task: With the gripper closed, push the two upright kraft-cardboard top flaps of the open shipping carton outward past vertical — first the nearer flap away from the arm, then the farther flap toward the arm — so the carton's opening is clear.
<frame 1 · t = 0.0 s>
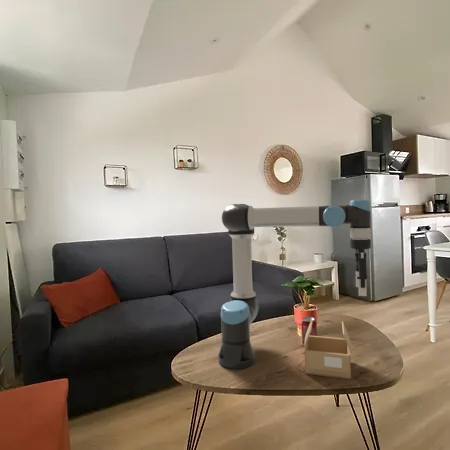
hand: (360, 291, 128), 28 cm above the table, fingers open, 13 cm apart
carton: (327, 367, 123), on the table
flap 1: (308, 333, 125), point 13 cm above the table, hinge at 70.0°
soda can: (309, 345, 144), on the table
flap 2: (346, 336, 120), point 13 cm above the table, hinge at 70.0°
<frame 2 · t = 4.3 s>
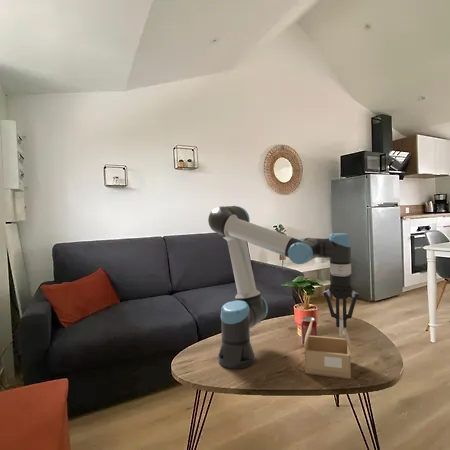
hand: (341, 335, 121), 13 cm above the table, fingers closed
flap 2: (346, 336, 120), point 13 cm above the table, hinge at 70.8°, touching gripper
everything else where it was.
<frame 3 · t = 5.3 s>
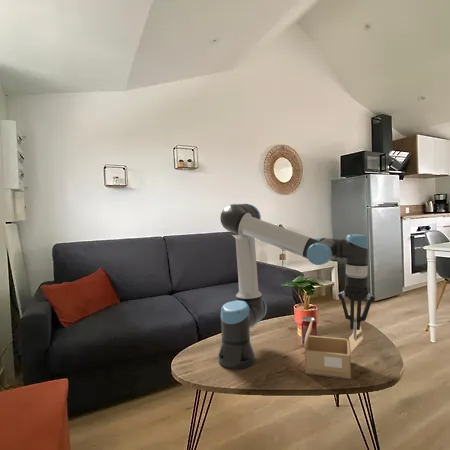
hand: (354, 337, 119), 13 cm above the table, fingers closed
flap 2: (356, 338, 119), point 12 cm above the table, hinge at 126.1°, touching gripper
everything else where it was.
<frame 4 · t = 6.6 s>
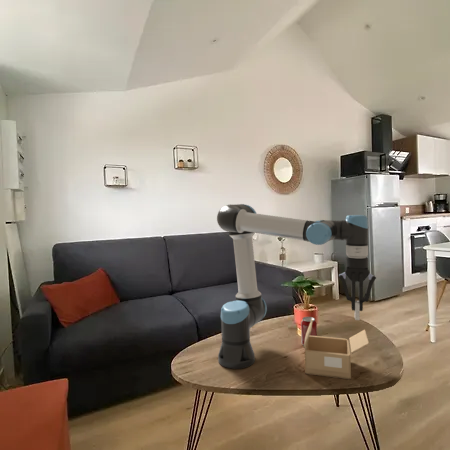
hand: (357, 318, 119), 20 cm above the table, fingers closed
flap 2: (358, 341, 119), point 12 cm above the table, hinge at 144.7°
everything else where it was.
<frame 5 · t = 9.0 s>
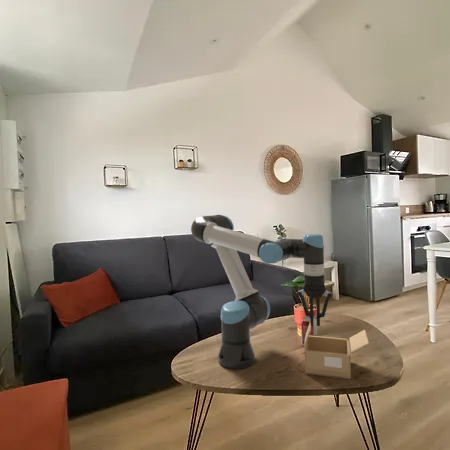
hand: (315, 333, 124), 13 cm above the table, fingers closed
flap 1: (308, 332, 125), point 13 cm above the table, hinge at 71.3°, touching gripper
everything else where it was.
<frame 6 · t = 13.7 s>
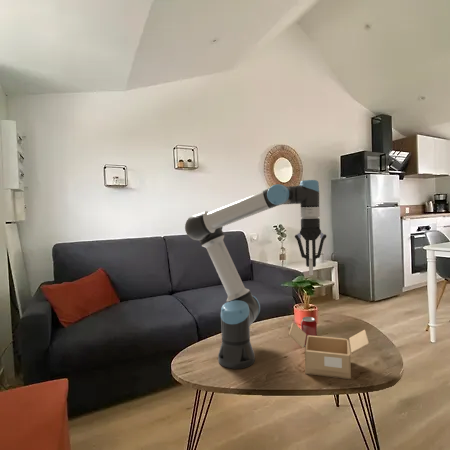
hand: (311, 274, 132), 34 cm above the table, fingers closed
flap 1: (297, 334, 126), point 12 cm above the table, hinge at 139.2°
everything else where it was.
at the end: flap 2 at +145° (first picture: +70°); flap 1 at +139° (first picture: +70°) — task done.
